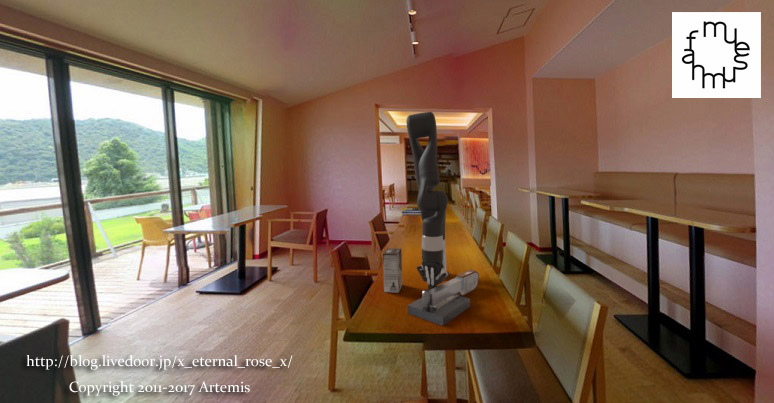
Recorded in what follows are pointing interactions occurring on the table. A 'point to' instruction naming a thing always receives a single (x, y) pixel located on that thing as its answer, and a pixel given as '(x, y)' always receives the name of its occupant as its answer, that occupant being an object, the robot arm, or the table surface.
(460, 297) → the plate
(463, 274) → the tin
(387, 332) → the table surface
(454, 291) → the swing bar
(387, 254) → the coffee box
